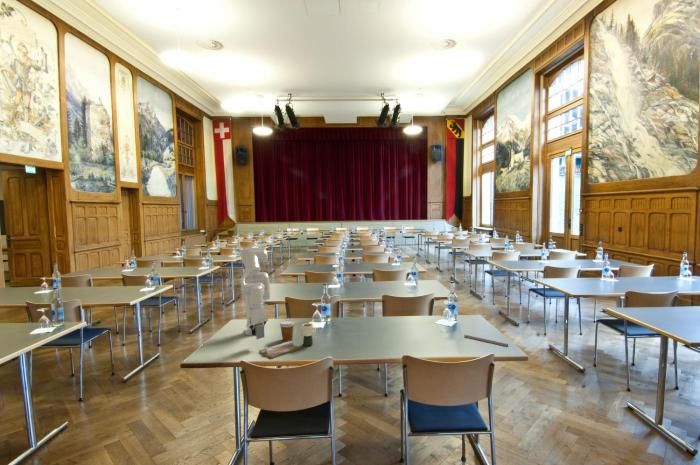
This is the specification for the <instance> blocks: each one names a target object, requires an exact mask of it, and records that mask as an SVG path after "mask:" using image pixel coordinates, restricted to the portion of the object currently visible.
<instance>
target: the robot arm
mask: <svg viewBox="0 0 700 465" xmlns="http://www.w3.org/2000/svg"><path fill="white" fill-rule="evenodd" d="M240 259H241V261H242V263H243V265H244V268H245V269H244V270H245V272H244V273H243V275H242V276H241V279H240V286H241V288H240V289H241V290H240V291H241V293H242V295H243V296H244V299H245V305H246V325H245V327H246V328H247V329H246V330H245V331H244V335H246V336H252V335H254V336H253V337H256V336H255V325H256V324H260V323H261V324H263V325H264V327H265V326H266V323H267V322H268V321H269V319H268V318H267V317H266V309H265V306H264V305H265V302H266V301H269V300H271V283H270V276H269V274H268V273H267V272H265V271H263V272H262V271H261V265H260V263H265V262H267V261H268V259H269V254H268V250H267V249H266V248H265V247H263V246H262V247H246V248H243V249H241V250H240ZM251 330H252V335H251Z"/></svg>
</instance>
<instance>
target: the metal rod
mask: <svg viewBox="0 0 700 465" xmlns="http://www.w3.org/2000/svg"><path fill="white" fill-rule="evenodd" d="M463 337H464V338H466V339H471V340H476V341H480V342H484V343H485V342H486V343H488V344H493V345H497V346H502V347H507V348H508V346H509V344H508V343H505V342H501V341H497V340H492V339H488V338H487V339H486V338H483V337H478V336H474V335H469V334H464V336H463Z"/></svg>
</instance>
